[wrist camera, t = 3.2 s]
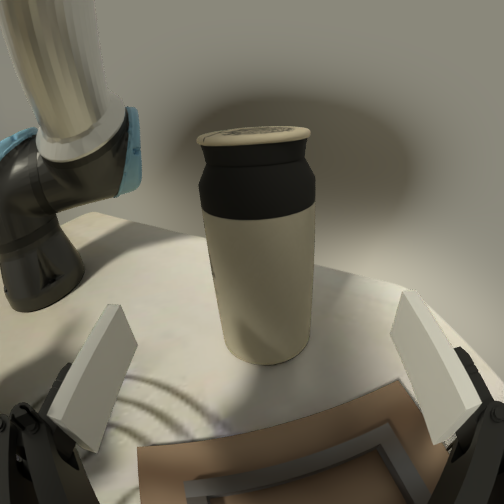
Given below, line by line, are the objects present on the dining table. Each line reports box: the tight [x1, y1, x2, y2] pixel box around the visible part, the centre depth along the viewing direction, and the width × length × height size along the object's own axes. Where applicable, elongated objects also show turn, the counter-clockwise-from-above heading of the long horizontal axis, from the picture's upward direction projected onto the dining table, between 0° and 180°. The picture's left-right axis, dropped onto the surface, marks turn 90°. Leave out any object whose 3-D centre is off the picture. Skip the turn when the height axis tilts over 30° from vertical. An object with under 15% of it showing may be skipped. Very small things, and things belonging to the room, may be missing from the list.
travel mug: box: [196, 126, 315, 365], centre depth 22 cm, size 8×8×18 cm
